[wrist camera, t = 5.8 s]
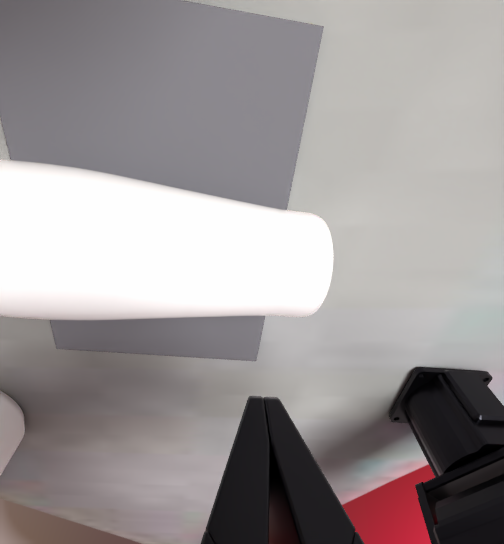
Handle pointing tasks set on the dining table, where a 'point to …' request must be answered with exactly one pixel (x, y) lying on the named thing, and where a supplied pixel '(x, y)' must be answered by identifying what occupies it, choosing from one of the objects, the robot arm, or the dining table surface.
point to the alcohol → (9, 428)
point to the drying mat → (159, 122)
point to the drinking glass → (150, 250)
